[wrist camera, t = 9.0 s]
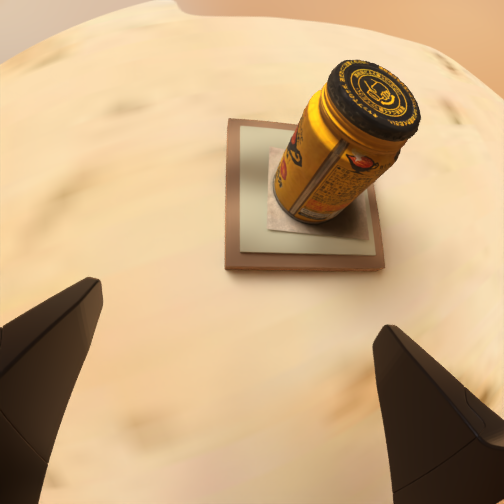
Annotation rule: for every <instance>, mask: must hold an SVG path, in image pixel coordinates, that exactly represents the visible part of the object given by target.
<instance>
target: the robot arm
mask: <svg viewBox="0 0 504 504" xmlns="http://www.w3.org/2000/svg"><path fill="white" fill-rule="evenodd" d="M102 307H103V295H102V285H101V281H100V280H99V279H97V278H92V277H87V278H85V279H83V280H81V281H79V282H77V283H76V284H74V285H72V286H70V287H68V288H67V289H65V290H63V291H61V292H60V293H58V294H56V295H54V296H53V297H51V298H49V299H47V300H46V301H44V302H42V303H40V304H39V305H37V306H35V307H34V308H32V309H30V310H29V311H27V312H25V313H24V314H22V315H20V316H19V317H17V318H15V319H14V320H12V321H10V322H9V323H7V324H5V325H4V326H3V328H2V327H0V504H38V502H39V498H40V494H41V490H42V486H43V482H44V478H45V474H46V470H47V467H48V464H47V463H49V459H50V456H51V452H52V449H53V446H54V442H55V439H56V436H57V433H58V430H59V427H60V424H61V421H62V418H63V415H64V412H65V410H66V407H67V404H68V401H69V399H70V396H71V393H72V391H73V388H74V385H75V383H76V380H77V378H78V375H79V373H80V370H81V368H82V365H83V363H84V361H85V358H86V356H87V353H88V351H89V348H90V345H91V342H92V338H93V335H94V332H95V329H96V325H97V322H98V319H99V316H100V313H101V310H102ZM373 357H374V366H375V376H376V385H377V391H378V397H379V402H380V407H381V413H382V419H383V425H384V431H385V437H386V444H387V450H388V458H389V465H390V473H391V482H392V491H393V503H394V504H504V420H503V419H502V418H501V417H499V416H498V415H497V414H496V413H495V412H493V411H492V410H491V409H490V408H488V407H487V406H486V405H485V404H484V403H482V402H481V401H480V400H479V399H478V398H477V397H476V396H475V395H473V394H472V393H471V392H470V391H469V390H468V389H467V388H466V387H464V385H463V384H461V383H460V382H459V381H458V380H457V379H456V378H455V377H454V376H453V375H452V374H450V373H449V372H448V371H447V370H446V369H445V368H444V367H443V366H442V365H440V364H439V363H438V362H437V361H436V360H435V359H434V358H433V357H431V356H430V355H429V354H428V353H427V352H426V351H425V350H424V349H422V348H421V347H420V346H419V345H418V344H417V343H416V342H414V341H413V340H412V339H411V338H410V337H409V336H408V335H406V334H405V333H404V332H403V331H402V330H401V329H399V328H398V327H397V326H395V325H384V326H383V327H382V329H381V331H380V332H379V334H378V336H377V337H376V339H375V340H374V343H373Z"/></svg>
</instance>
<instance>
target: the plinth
mask: <svg viewBox="0 0 504 504" xmlns="http://www.w3.org/2000/svg"><path fill="white" fill-rule="evenodd" d="M297 126H298V125H295V124H286V123H278V122H268V121H258V120H246V119H231V118H229V120H228V126H227V157H226V199H225V269H241V270H332V271H378V270H380V269H383V268H385V263H384V253H383V245H382V237H381V229H380V222H379V215H378V209H377V202H376V196H375V191H374V185H373V183H372V184H371V185H370V186H369V187H368V188H367V189H366V190H365V191H364V195H365V204H366V213H367V224H368V231H369V240H363V239H354V238H344V237H336V236H329V235H315V234H305V233H298V232H288V231H280V230H272V229H267V197H268V168H269V146H271V147H275V148H281V149H286V148H287V146H288V144H289V142H290V139H291V137H292V136H293V134H294V132H295V130H296V128H297Z"/></svg>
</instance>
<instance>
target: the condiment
mask: <svg viewBox="0 0 504 504" xmlns="http://www.w3.org/2000/svg"><path fill="white" fill-rule="evenodd" d="M420 120H421V115H420V110H419V107H418V103H417V102H416V100H415V98H414V96H413V94H412V93H411V92H410V90H409V89H408V88H407V86H406V85H405V84H404V83H402V82H401V81H400V80H399V78H397V77H396V76H395V75H394V74H392V73H391V72H389V71H388V70H386V69H385V68H383V67H381V66H379V65H376V64H374V63H370V62H367V61H361V60H345V61H343V62H341V63H340V64H338V65H337V66H336V67H335V68H334V69H333V70H332V72H331V74H330V75H329V78H328V81H327V83H326V84H325V85H324V86H323V88H322V89H321V90H319V91H317V92H316V93H315V94H314V95H313V96H312V98H311V99H310V100H309V103H308V105H307V106H306V108H305V109H304V112H303V115H302V117H301V119H300V121H299V123H298V126H297V128H296V130H295V132H294V134H293V136H292V137H291V139H290V142H289V144H288V146H287V148H286V149H281V148H275V147H271V146H269V168H268V197H267V229H272V230H280V231H288V232H298V233H305V234H315V235H329V236H336V237H344V238H354V239H363V240H369V231H368V224H367V213H366V204H365V195H364V191H365V190H366V189H367V188H368V187H369V186H370V185H371V184H372V183H373V182H375V181H376V180H377V179H378V178H379V177H380V176H381V175H382V174H383V173H384V172H385V171H387V170H388V169H389V168H390V167H391V166H392V165H393V164H394V163H395V162H396V160H397V159H398V156H399V154H400V151H401V148H402V147H403V146H404V145H405V143H406V142H407V140H408V139H409V138H411V136H413V135H415V133H416V132H417V131H418V126H419V122H420Z"/></svg>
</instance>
